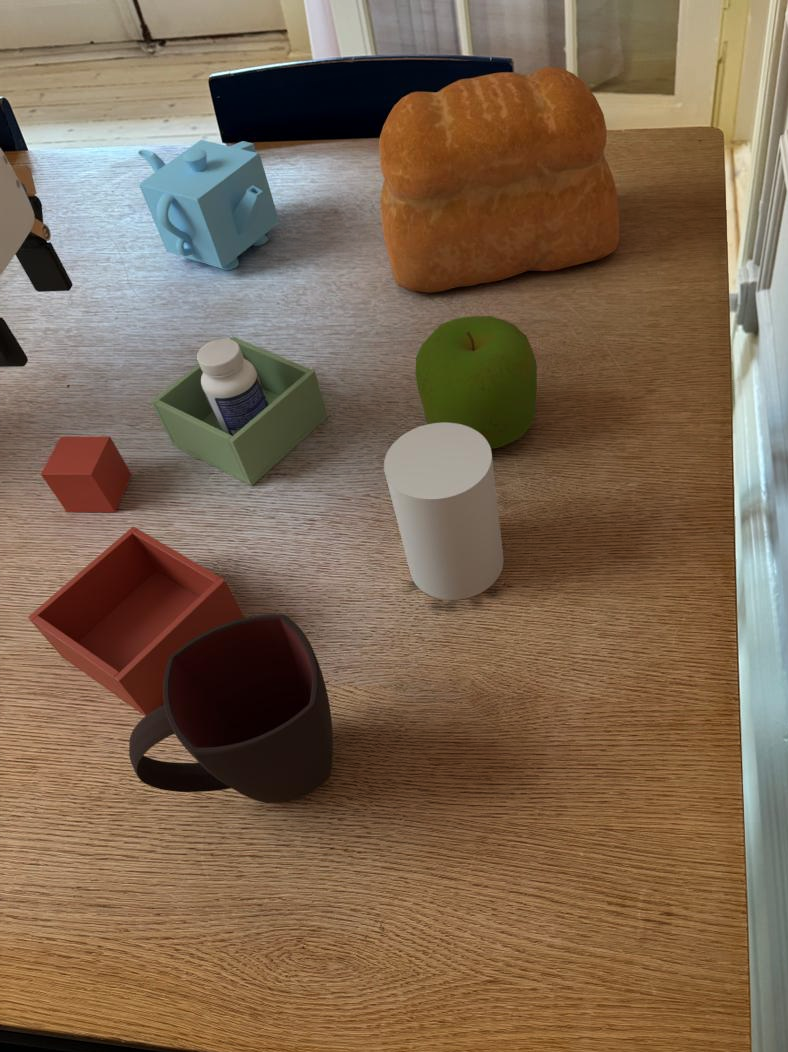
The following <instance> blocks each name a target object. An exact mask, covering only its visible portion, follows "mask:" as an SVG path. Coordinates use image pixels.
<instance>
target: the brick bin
mask: <svg viewBox="0 0 788 1052" xmlns="http://www.w3.org/2000/svg"><path fill="white" fill-rule="evenodd" d="M27 618H28V620H29V621H30V622H31V623H32V625H34V627H35V628H36V630H38V632H40V634H41V635H42V637H44V639H45V640H46V641H47V642H48V643H49V644H50V645H51V646H52V648H54V650H55V651H56V652H57V654H59V656H60V657H61V658H63V659H64V660H66V661H67V662H69V664H71V665H72V666H74V667H76V668H77V669H78V670H80V671H81V672H83V673H84V674H85V675H87V676H88V677H90V678H91V679H92V680H94V681H95V682H97V683H98V684H99V685H100V686H102V687H104V688H105V689H106V690H108V691H109V692H111V693H112V694H114V695H115V696H116V697H117V698H119V699H121V700H122V701H123V702H124V703H126V704H127V705H129V706H130V707H132V708H133V709H134V710H136V711H137V712H139V713H140V714H141V715H142V716H144V717H145V716H147V715H148V714H149V713H151V712H152V711H154V710H155V709H157V708H159V707H161V706H163V705H164V698H163V684H164V676H165V671H166V667H167V663H168V660H169V657H170V656H171V655H172V654H173V653H175V652H176V651H177V650H178V649H180V648H181V647H182V646H184V645H185V644H187V643H188V642H190V641H191V640H193V639H194V638H196V637H198V636H200V635H201V634H203V633H205V632H207V631H209V630H211V629H213V628H216V627H218V626H221V625H223V624H226V623H229V622H232V621H235V620H239V619H242V618H246V617H245V615H244V613H243V610H242V609H241V607H240V605H239V604H238V602H237V600H236V597H235V596H234V594H233V592H232V589H231V588H230V586H229V584H228V583H227V580H226V579H224V578H222V577H221V576H219V575H217V573H214V572H212V571H211V570H209V569H208V568H206V567H204V566H202V565H201V564H198V563H197V562H195V561H193V560H192V559H190V558H188V557H187V556H185V555H183V554H182V553H180V552H179V551H177V550H175V549H174V548H172V547H170V546H168V545H167V544H166V543H165V544H164V543H163V542H161V541H159V540H158V539H157V538H154V537H153V536H151V535H149V534H148V533H146V532H144V531H142V530H141V529H139V528H137V527H136V526H134V525H133V526H131V527H130V528H129V529H128V530H127V531H125V533H123V534H122V535H121V536H119V538H117V539H116V540H115V541H114V542H113V543H112V544H111V545H109V546H108V547H107V548H106V549H104V551H102V552H101V553H100V554H99V555H97V557H95V558H94V559H93V560H92V561H91V562H90V563H88V564H87V565H86V566H85V567H83V568H82V570H80V571H79V572H78V573H77V574H76V575H74V576H73V577H72V578H71V579H69V581H68V582H66V583H65V584H64V585H63V586H61V588H59V589H58V590H57V591H56V592H55V593H53V594H52V595H51V596H50V597H49V598H48V599H46V601H44V602H43V603H42V604H41V605H40V606H38V607H37V608H36V609H35V610H34V611H33V612H32V613H31V614H29V615H28V616H27Z"/></svg>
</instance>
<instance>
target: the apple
mask: <svg viewBox="0 0 788 1052" xmlns="http://www.w3.org/2000/svg"><path fill="white" fill-rule="evenodd" d="M415 380H416V381H415V382H416V388H417V392H418V395H419V399H420V402H421V406H422V411H423V414H424V417H425V420H426V425H428V424H433V423H456V424H461V425H465V426H468V427H470V428H472V429H474V430H476V431H478V432H479V433H480V434H481V435H483V437H484V438H485V439H486V440H487V442H488V443H489V445H490V448H491V450H492V449H497V448H503V447H504V446H506V445H509V444H510V443H512V442H514V441H516V440H518V439H520V438H521V437H522V436H523V435H525V433H526V432H527V431H528V430H529V429H531V427H532V425H533V422H534V419H535V415H536V411H537V410H536V409H537V393H538V364H537V361H536V358H535V355H534V351H533V348H532V346H531V342H530V341H529V338H528V336H527V335H526V334H525V333H524V332H523V331H521V330H520V329H519V328H518V327H517V326H516V325H515V324H514V323H511V322H509V321H508V320H504V319H502V318H499V317H496V316H491V315H471V316H463V317H457V318H454V319H451V320H448V321H446V322H443V323H440V324H439V325H438V327H437V328H436V329H434V330H433V332H431V334H430V335H429V336H428V337H427V338H426V339H425V340H424V341H423V342H422V343H421V345H420V347H419V350H418V352H417V353H416V356H415Z"/></svg>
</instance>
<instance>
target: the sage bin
mask: <svg viewBox="0 0 788 1052" xmlns="http://www.w3.org/2000/svg"><path fill="white" fill-rule="evenodd" d="M229 339H231V340H234V341H235V342H237V343H238V345H239V347H240V349H241V352H242V354H243V357H244V359H246V360H248V361H249V362H250V363H251V364H252V365H253V366H254V368H255V370H256V372H257V375H258V377H259V380H260V383H261V385H262V388H263V391H264V394H265V396H266V399H267V402H268V404H269V406H267V407H266V408H265V409H264V410H263V411H262V412H260V413H259V414H258V415H257V416H256V417H255V418H253V419H252V420H251V421H250V422H249V423H248V424H246V425H245V426H244V427H243V428H242V429H241V430H239V431H238V432H237V433H236V434H235V435H234V436H232V435H229V434H227V433H225V432H223V431H221V429H220V427H219V425H218V422H217V420H216V418H215V415H214V413H213V411H212V408H211V406H210V404H209V402H208V400H207V397H206V395H205V393H204V391H203V388H202V385H201V377H202V374H203V371H202V370H201V367H200V365H199V363H197V364H196V365H195V366H194V367H192V368H191V369H190V370H188V371H187V372H186V373H185V374H184V375H182V376H181V377H180V378H179V379H177V380H176V381H175V382H174V383H172V384H171V385H170V386H168V387H167V388H166V389H165V390H164V391H162V392H161V393H159V395H157V396H156V397H154V398H153V399H152V400H150V403H151V405H152V407H153V409H154V411H155V413H156V415H157V416H158V419H159V420H160V423H161V424H162V426H163V429H164V431H165V432H166V434H167V437H168V438H169V441H170V442H171V444H172V446H173V447H176V448H177V449H179V450H181V451H183V452H185V453H186V454H188V455H191V456H192V457H194V458H197V459H199V460H201V461H202V462H204V463H206V464H208V465H210V466H212V467H214V468H216V469H217V470H219V471H222V472H223V473H226V474H227V475H229V476H231V477H233V478H236V479H237V480H239V481H241V482H243V483H245V484H247V485H249V486H251V487H253V486H254V485H255V484H256V483H258V481H259V480H261V478H263V477H264V476H265V475H266V474H267V473H268V472H270V470H272V469H273V468H274V467H275V466H276V465H277V464H278V463H279V462H280V461H281V460H282V459H284V458H285V457H286V456H287V455H288V454H289V453H291V451H293V450H294V449H295V448H296V447H297V446H298V445H299V444H300V443H301V442H302V441H303V440H305V439H306V438H307V437H308V436H309V435H310V434H311V433H313V432H314V431H315V430H316V429H317V428H318V427H319V426H320V425H321V424H322V423H324V422H325V421H326V420H327V419H328V418H329V413H328V410H327V407H326V402H325V400H324V396H323V392H322V390H321V386H320V383H319V380H318V377H317V374H316V371H315V370H313V369H311V368H309V367H306V366H304V365H301V364H300V363H296V362H295V361H292V360H289V359H287V358H285V357H283V356H280V355H278V354H275V353H273V352H271V351H270V350H269V351H268V350H267V349H264V348H261V347H259V346H257V345H254V344H252V343H249V342H247V341H246V340H243V339H240V338H238V337H235V336H232V337H230V338H229Z"/></svg>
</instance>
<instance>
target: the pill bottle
mask: <svg viewBox="0 0 788 1052" xmlns="http://www.w3.org/2000/svg"><path fill="white" fill-rule="evenodd" d="M196 359H197V362H198V364H199V365H200V367H201V370H202V371H203V374H202V377H201V385H202V388H203V391H204V393H205V395H206V397H207V400H208V402H209V404H210V406H211V408H212V411H213V413H214V415H215V418H216V420H217V422H218V425H219V427H220V429H221V431H223V432H225V433H227V434H229V435H232V436H234V435H235V434H236V433H237V432H238V431H239V430H241V429H242V428H243V427H244V426H245V425H246V424H248V423H249V422H250V421H251V420H252V419H253V418H255V417H256V416H257V415H258V414H259V413H260V412H262V411H263V410H264V409H265V408H266V407H267V406H269V404H268V402H267V399H266V396H265V394H264V391H263V388H262V385H261V383H260V380H259V377H258V375H257V372H256V370H255V368H254V366H253V365H252V364H251V363H250V362H249V361H248V360H246V359H244V357H243V354H242V352H241V349H240V347H239V345H238V343H237V342H235V341H234V340H231V339H230V338H219V339H214V340H211V341H209V342H207V343H205V344H203V346H201V347H200V348H199V350H198V352H197V354H196Z"/></svg>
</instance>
